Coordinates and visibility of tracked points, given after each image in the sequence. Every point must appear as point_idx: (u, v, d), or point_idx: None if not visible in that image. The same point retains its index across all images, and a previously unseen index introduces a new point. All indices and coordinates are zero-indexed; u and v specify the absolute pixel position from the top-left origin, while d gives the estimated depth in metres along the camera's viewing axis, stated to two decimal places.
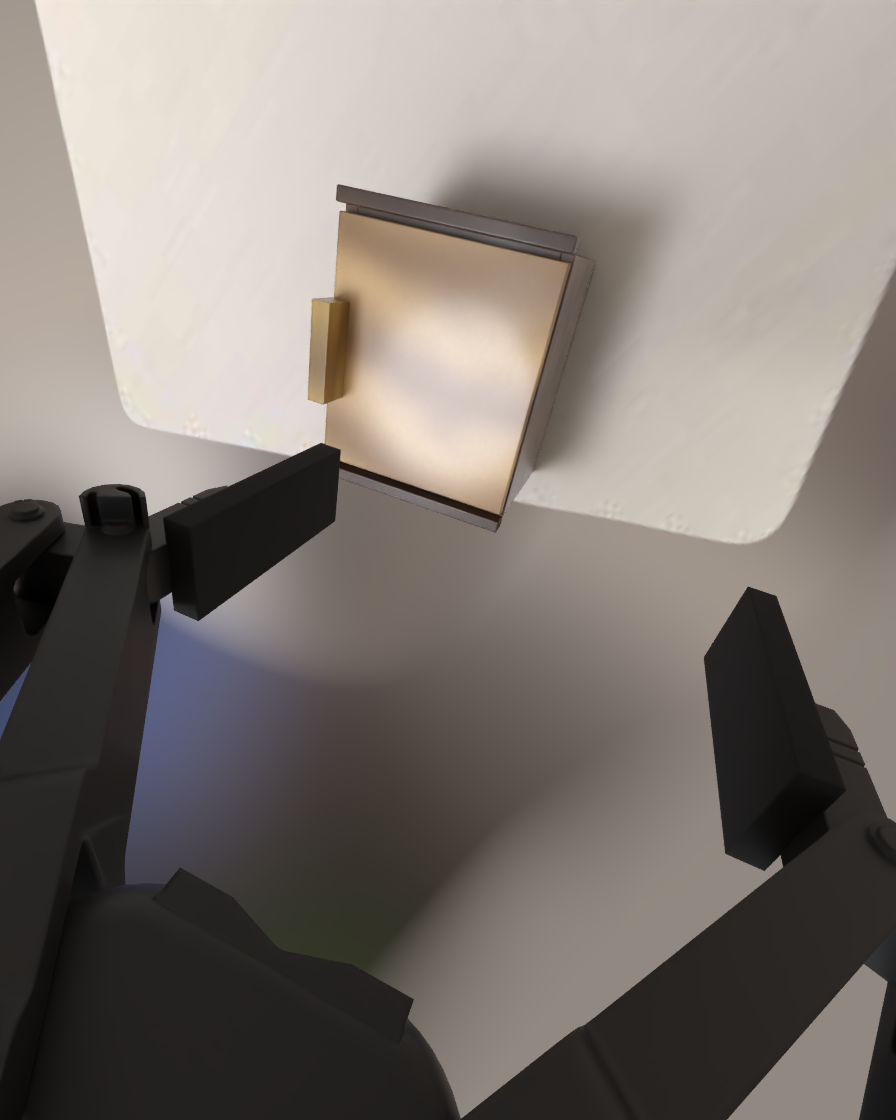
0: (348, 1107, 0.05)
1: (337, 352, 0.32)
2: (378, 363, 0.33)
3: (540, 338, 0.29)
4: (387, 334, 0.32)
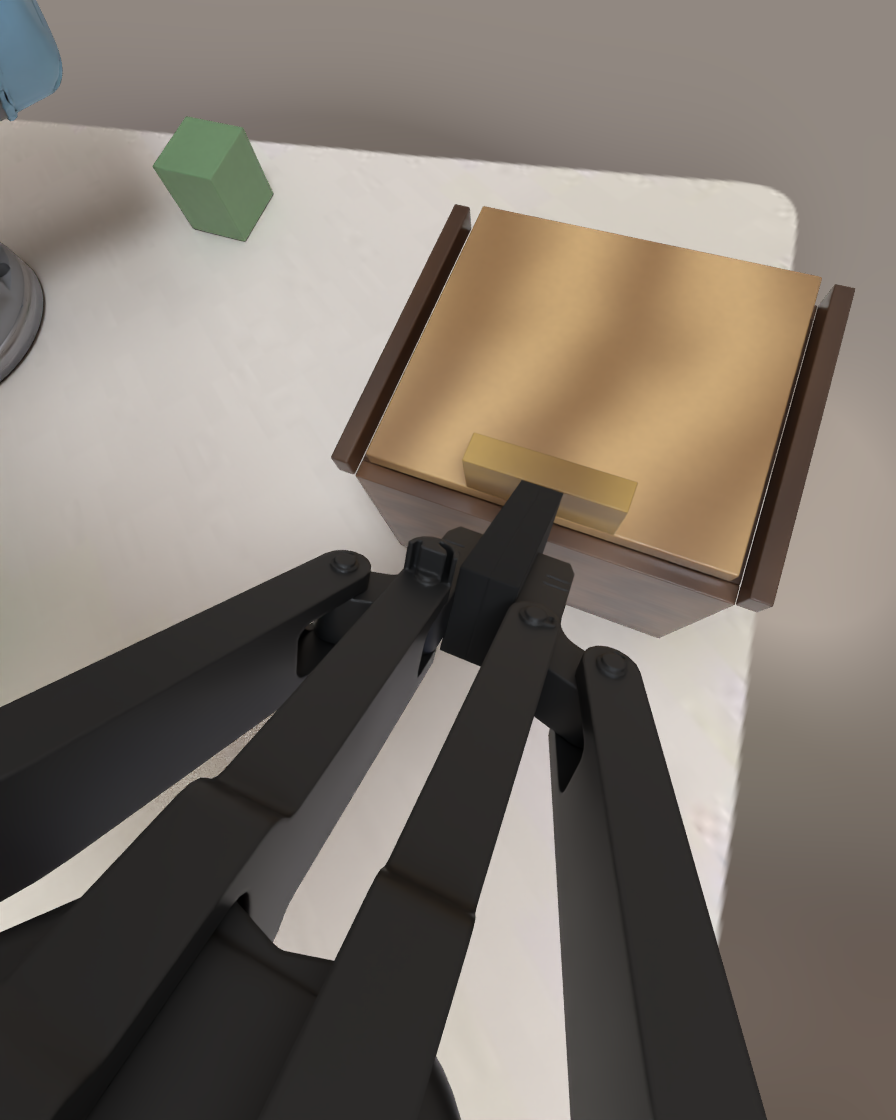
0: (349, 1106, 0.05)
1: None
2: (570, 433, 0.21)
3: (558, 228, 0.24)
4: (529, 413, 0.21)
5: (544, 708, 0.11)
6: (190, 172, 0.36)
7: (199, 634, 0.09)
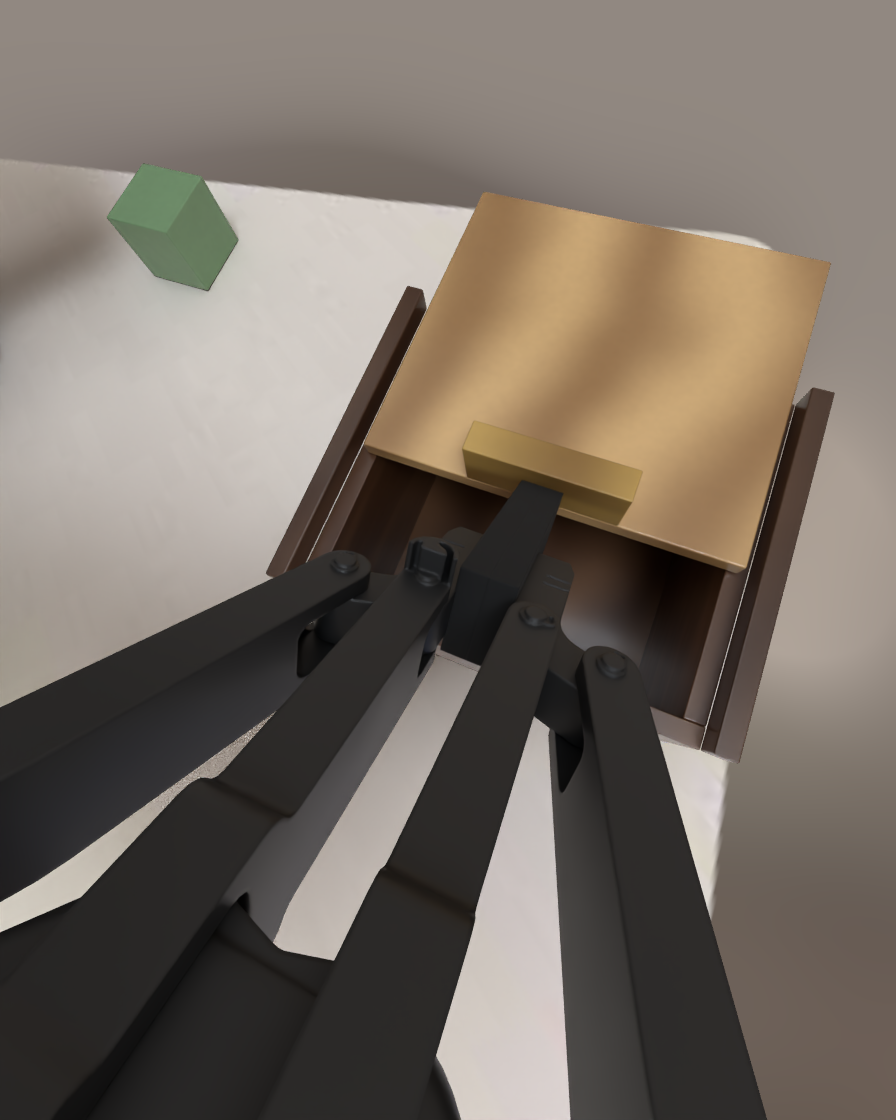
0: (349, 1106, 0.05)
1: None
2: (573, 422, 0.20)
3: (560, 214, 0.23)
4: (531, 401, 0.21)
5: (544, 708, 0.11)
6: (146, 224, 0.34)
7: (199, 634, 0.09)
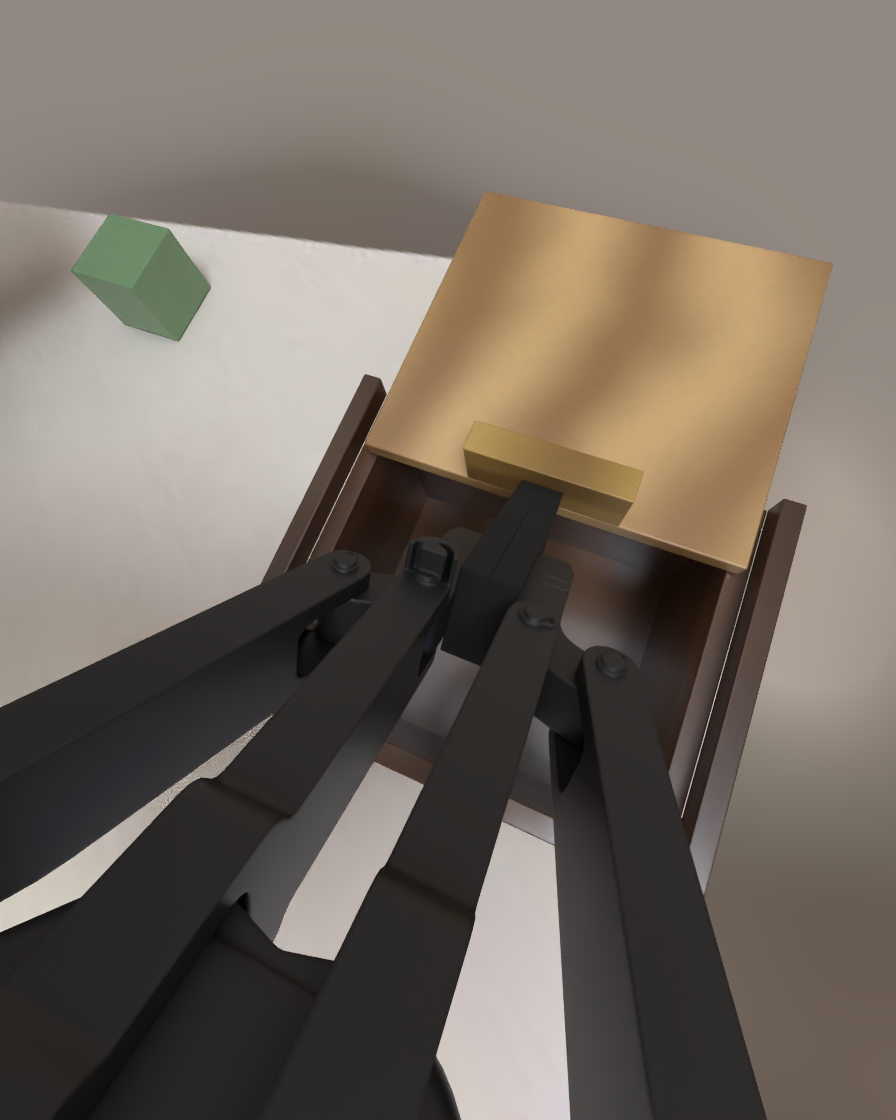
0: (349, 1106, 0.05)
1: None
2: (574, 422, 0.20)
3: (562, 214, 0.23)
4: (532, 402, 0.21)
5: (544, 708, 0.11)
6: (111, 279, 0.33)
7: (199, 634, 0.09)
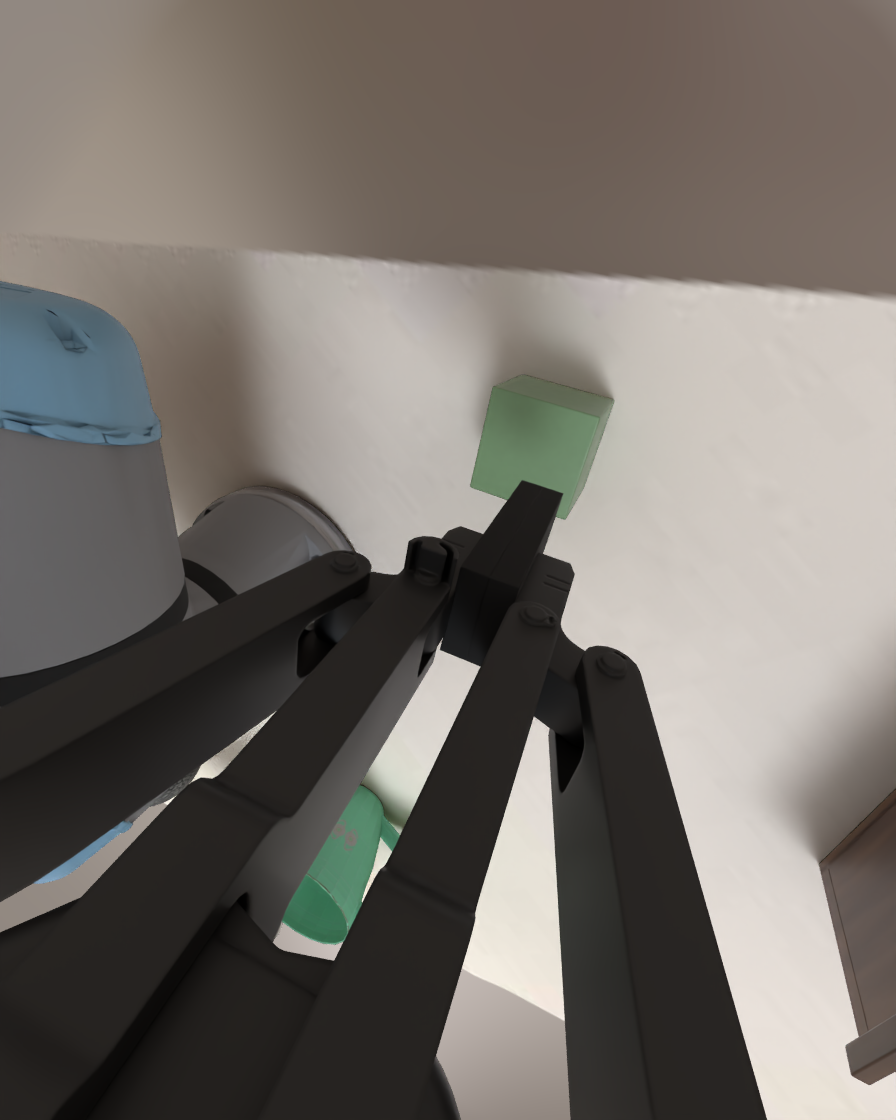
0: (348, 1106, 0.05)
1: None
2: None
3: None
4: None
5: (544, 708, 0.11)
6: None
7: (199, 634, 0.09)
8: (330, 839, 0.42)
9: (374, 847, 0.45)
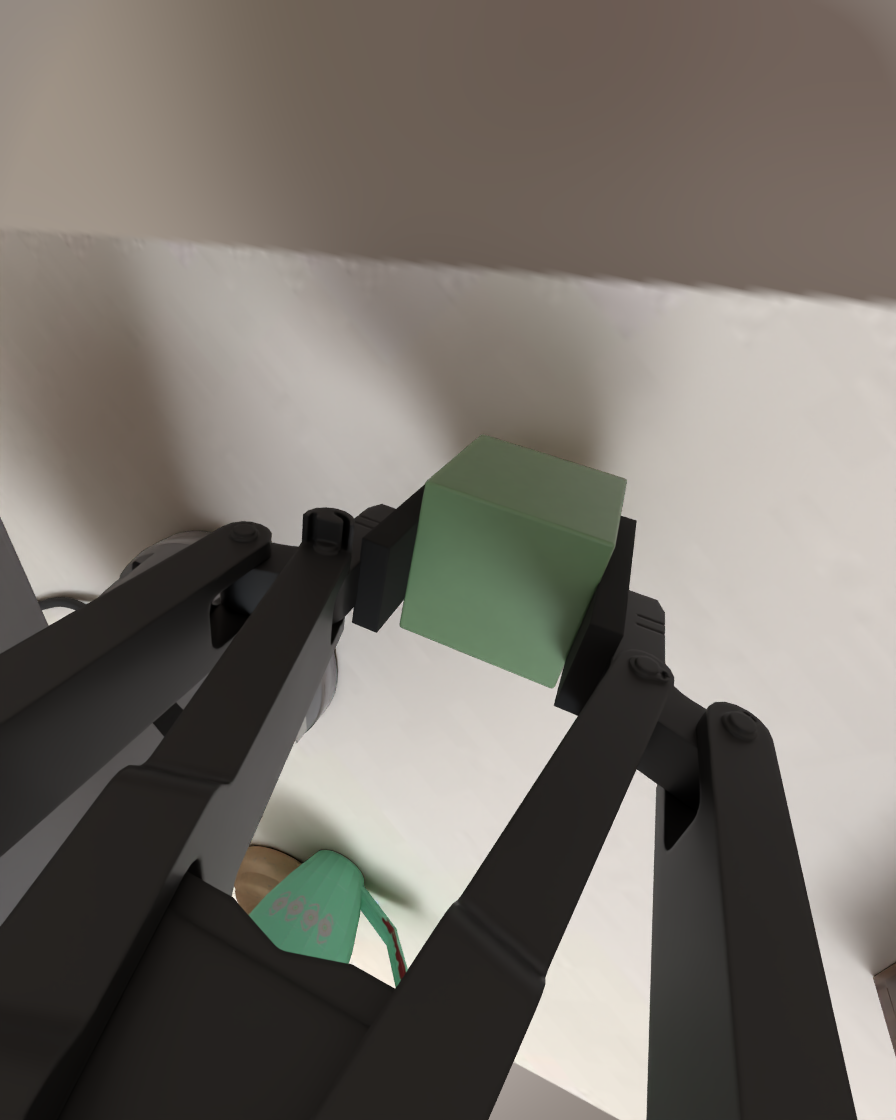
0: (349, 1107, 0.05)
1: None
2: None
3: None
4: None
5: (658, 767, 0.10)
6: (499, 663, 0.15)
7: (106, 615, 0.09)
8: (301, 932, 0.36)
9: (353, 930, 0.39)
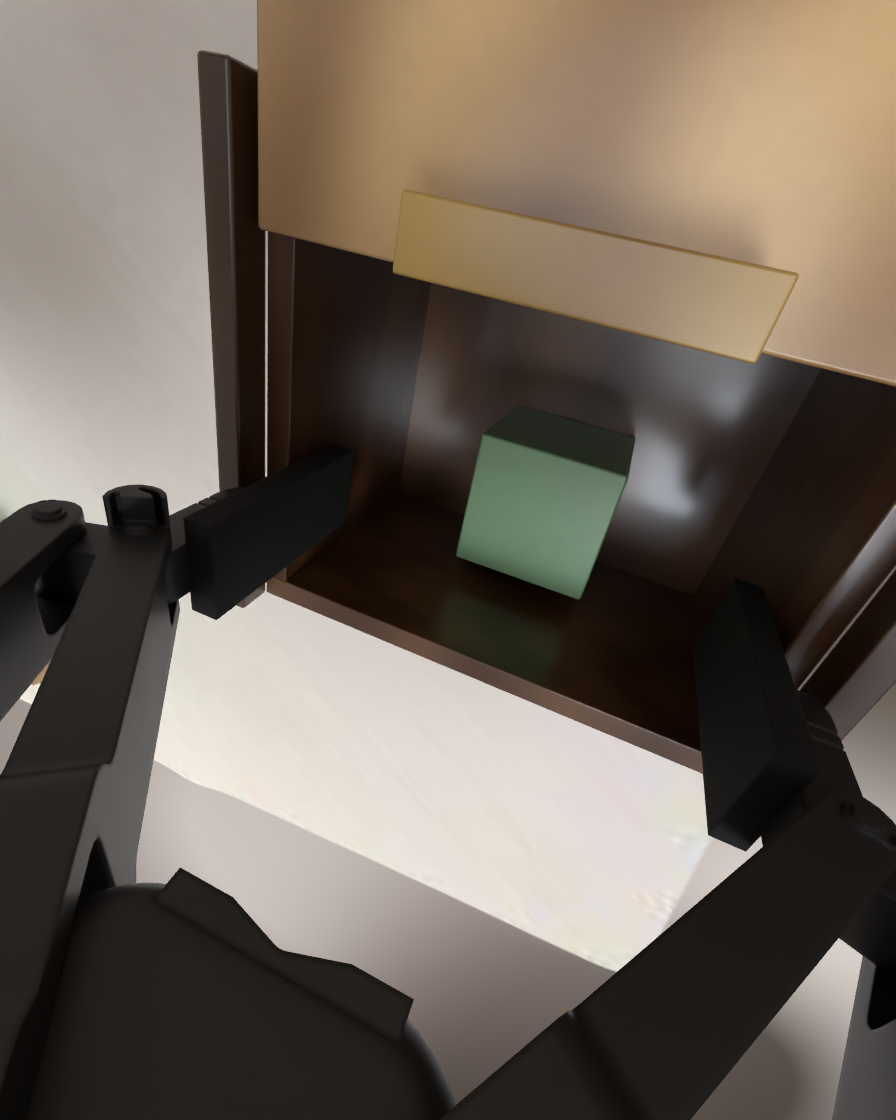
0: (348, 1106, 0.05)
1: None
2: (661, 66, 0.08)
3: None
4: (554, 21, 0.08)
5: (885, 950, 0.08)
6: (536, 581, 0.19)
7: None
8: None
9: None
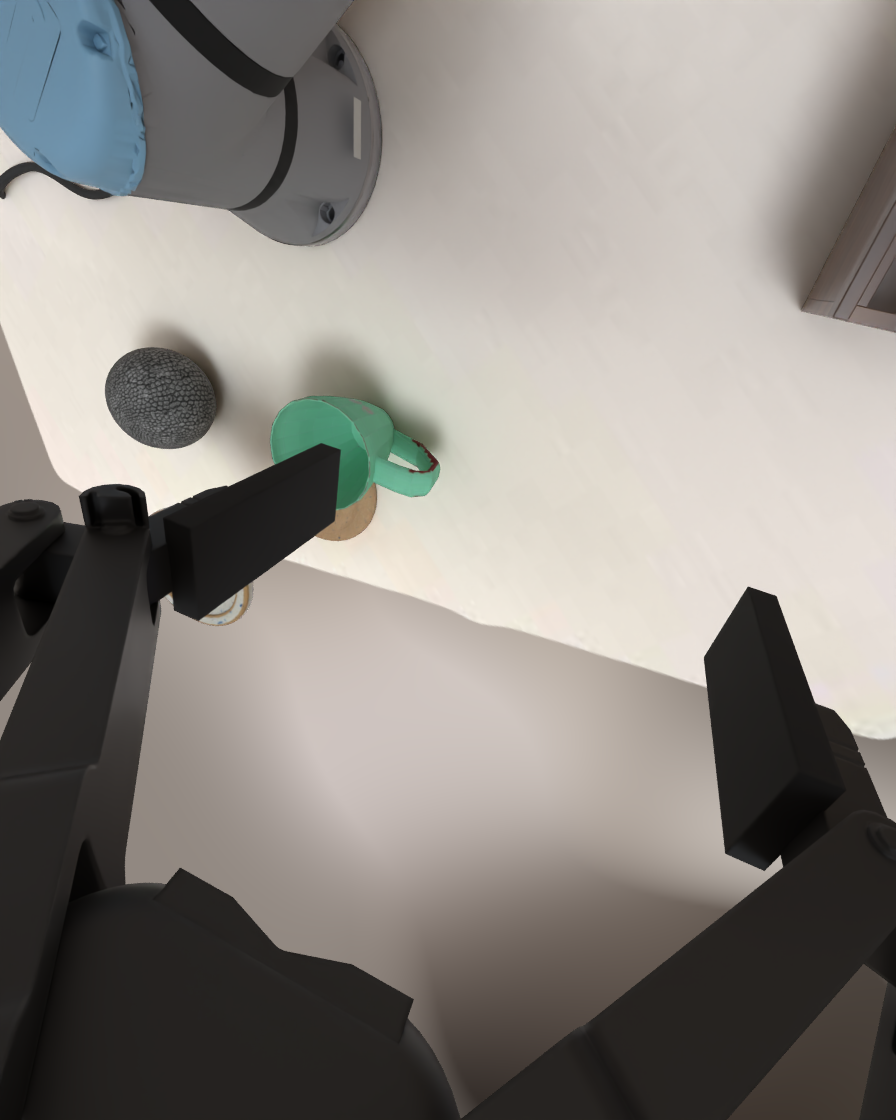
0: (348, 1106, 0.05)
1: None
2: None
3: None
4: None
5: None
6: None
7: None
8: (349, 402, 0.44)
9: (388, 436, 0.47)
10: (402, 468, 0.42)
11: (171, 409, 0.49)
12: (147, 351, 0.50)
